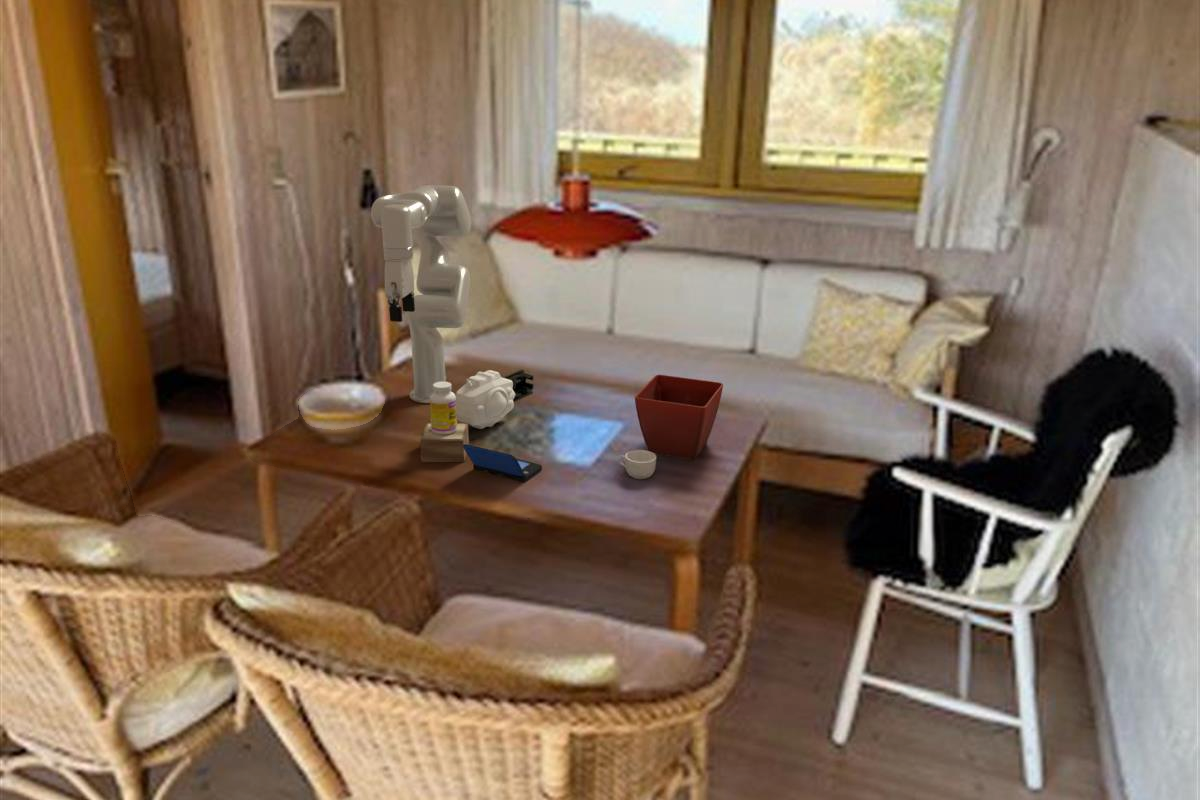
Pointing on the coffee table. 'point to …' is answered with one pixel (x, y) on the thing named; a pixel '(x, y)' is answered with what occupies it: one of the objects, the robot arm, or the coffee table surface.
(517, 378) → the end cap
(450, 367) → the coffee table surface
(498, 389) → the camera
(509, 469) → the handheld game console
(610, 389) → the coffee table surface
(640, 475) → the teacup
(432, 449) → the pale wooden block
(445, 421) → the supplement bottle
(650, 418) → the plant pot
